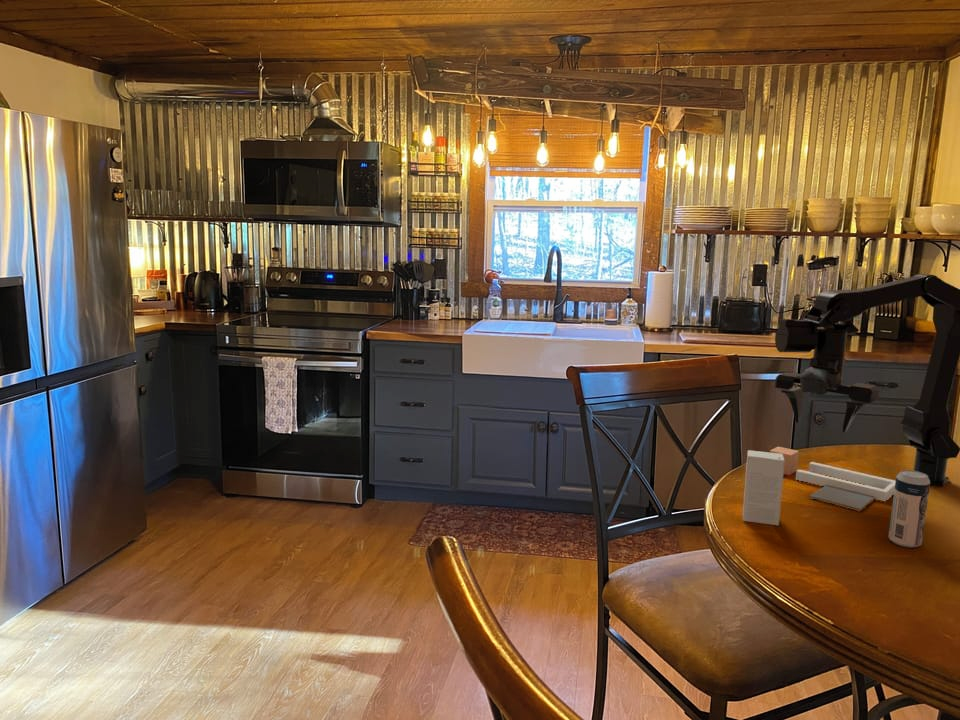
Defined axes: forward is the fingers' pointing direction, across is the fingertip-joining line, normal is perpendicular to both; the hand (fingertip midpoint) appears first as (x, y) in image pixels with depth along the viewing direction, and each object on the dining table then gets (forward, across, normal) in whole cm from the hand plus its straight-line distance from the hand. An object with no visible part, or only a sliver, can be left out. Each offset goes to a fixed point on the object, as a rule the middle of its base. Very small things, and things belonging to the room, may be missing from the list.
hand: (820, 427), depth 148 cm
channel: (+11, +6, 0) cm, 12 cm away
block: (+11, -7, 0) cm, 13 cm away
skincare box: (+11, +2, -31) cm, 33 cm away
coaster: (+11, +8, -9) cm, 16 cm away
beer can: (+11, +22, -23) cm, 34 cm away
